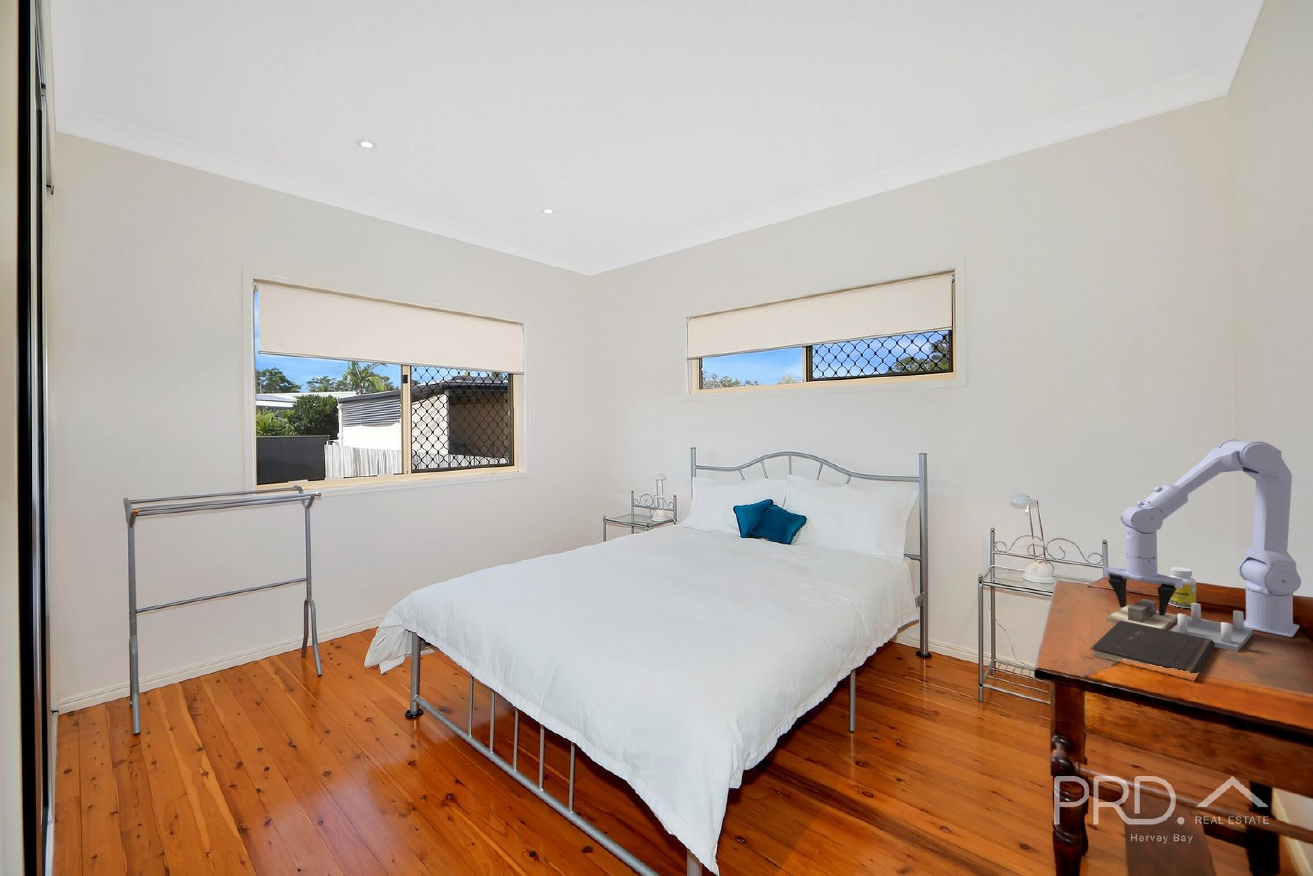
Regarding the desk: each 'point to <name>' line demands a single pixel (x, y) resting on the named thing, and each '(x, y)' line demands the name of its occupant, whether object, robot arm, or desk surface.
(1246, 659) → the desk surface
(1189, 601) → the supplement bottle
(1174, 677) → the desk surface
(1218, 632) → the peg stand
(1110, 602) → the desk surface
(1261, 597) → the robot arm
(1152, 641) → the hardcover book
